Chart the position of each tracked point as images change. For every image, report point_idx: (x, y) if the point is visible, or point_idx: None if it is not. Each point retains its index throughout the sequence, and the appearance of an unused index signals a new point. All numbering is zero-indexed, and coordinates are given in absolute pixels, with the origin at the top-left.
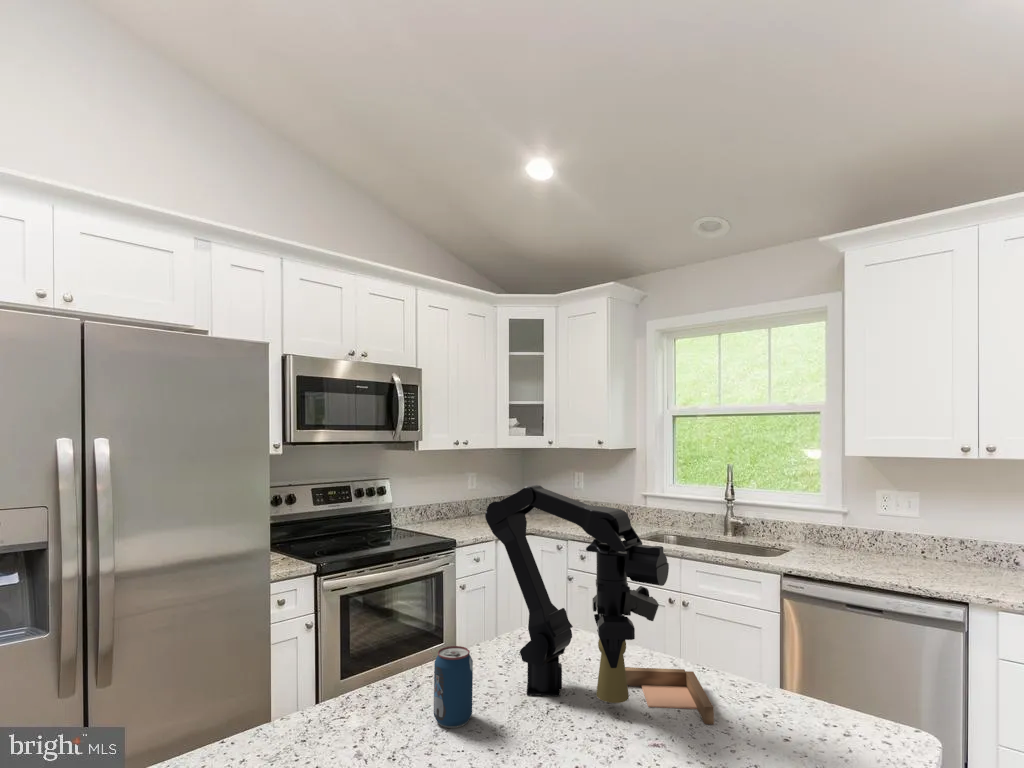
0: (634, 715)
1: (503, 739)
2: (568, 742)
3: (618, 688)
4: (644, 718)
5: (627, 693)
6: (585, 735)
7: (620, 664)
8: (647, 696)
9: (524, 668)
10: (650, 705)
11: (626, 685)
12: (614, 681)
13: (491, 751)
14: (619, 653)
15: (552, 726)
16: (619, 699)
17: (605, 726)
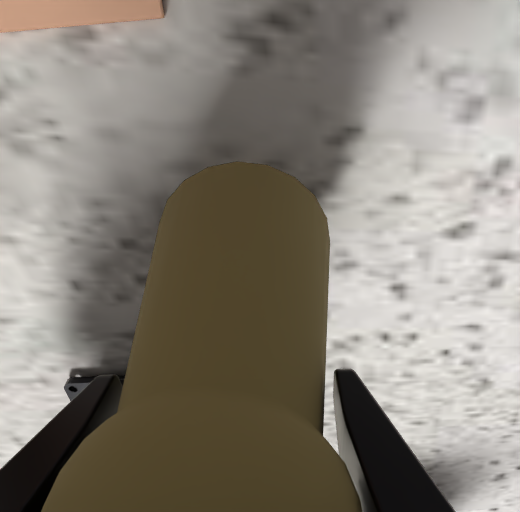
0: (278, 109)
1: (454, 463)
2: (496, 345)
3: (322, 257)
4: (305, 55)
5: (272, 183)
6: (456, 302)
7: (303, 350)
8: (42, 14)
9: (5, 450)
10: (158, 4)
11: (269, 210)
12: (327, 304)
13: (509, 475)
14: (445, 499)
15: (387, 382)
16: (324, 222)
17: (390, 238)
